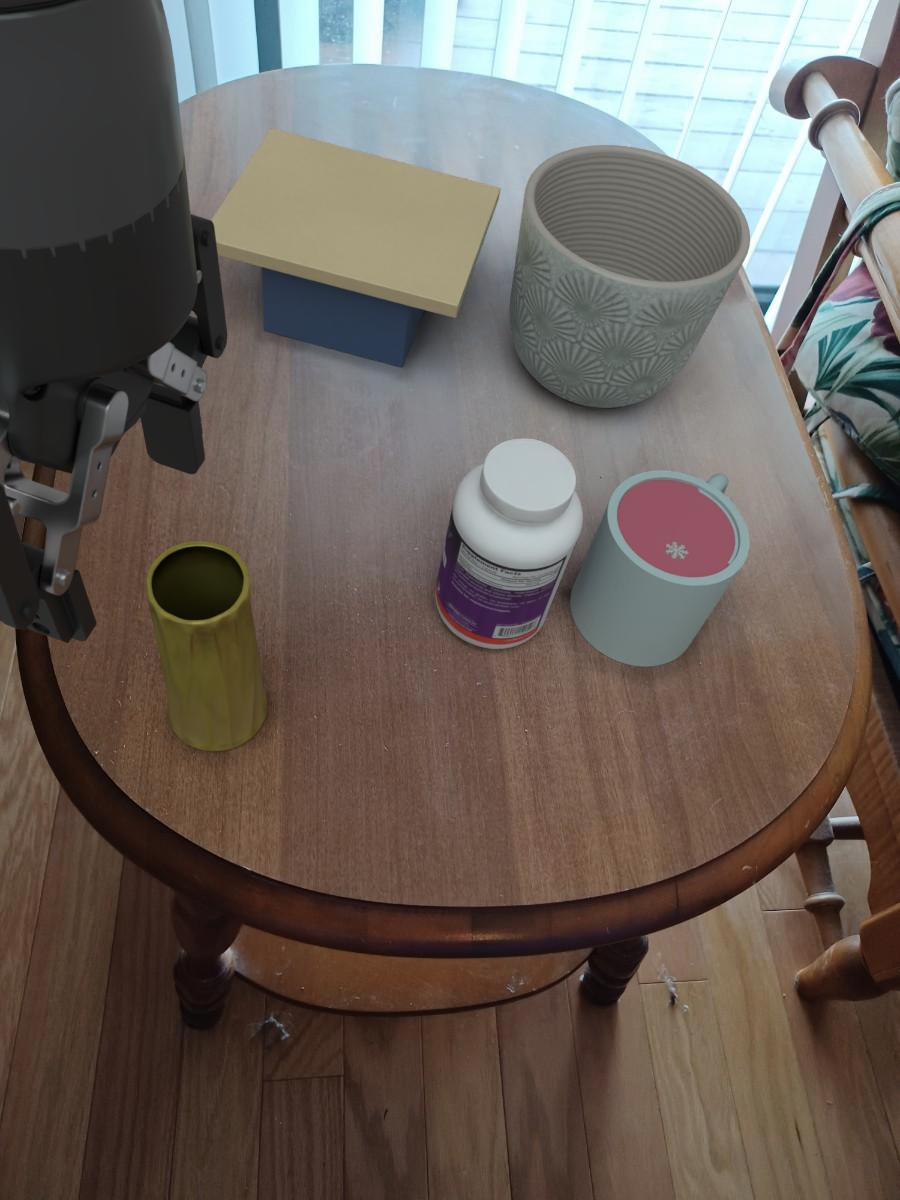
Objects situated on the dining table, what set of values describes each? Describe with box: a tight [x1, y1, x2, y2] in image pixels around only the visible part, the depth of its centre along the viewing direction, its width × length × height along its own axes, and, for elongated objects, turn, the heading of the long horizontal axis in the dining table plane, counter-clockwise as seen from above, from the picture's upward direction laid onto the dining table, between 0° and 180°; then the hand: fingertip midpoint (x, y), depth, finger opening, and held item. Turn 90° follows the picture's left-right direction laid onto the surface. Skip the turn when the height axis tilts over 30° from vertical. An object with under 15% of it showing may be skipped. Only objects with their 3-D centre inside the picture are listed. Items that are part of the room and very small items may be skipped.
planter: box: [508, 144, 751, 409], centre depth 76 cm, size 17×17×15 cm
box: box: [210, 127, 501, 368], centre depth 79 cm, size 20×16×9 cm
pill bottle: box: [434, 437, 584, 650], centre depth 61 cm, size 8×8×14 cm
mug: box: [569, 469, 751, 668], centre depth 65 cm, size 14×9×10 cm
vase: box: [145, 540, 268, 752], centre depth 54 cm, size 6×6×14 cm
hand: (125, 539), depth 36 cm, fingers open, 8 cm apart
